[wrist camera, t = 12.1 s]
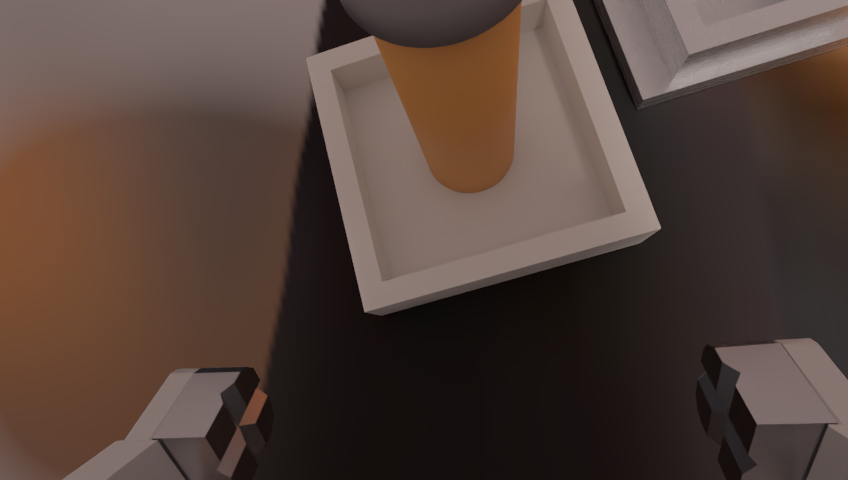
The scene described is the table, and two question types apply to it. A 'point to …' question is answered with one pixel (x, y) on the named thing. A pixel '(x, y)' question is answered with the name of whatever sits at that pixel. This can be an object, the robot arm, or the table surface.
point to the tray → (497, 206)
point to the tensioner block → (714, 40)
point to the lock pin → (452, 80)
